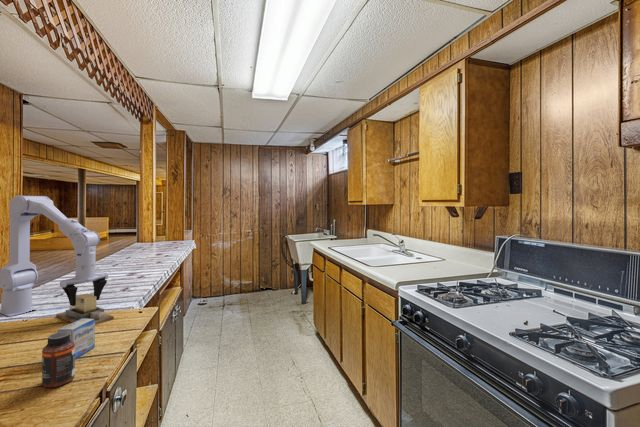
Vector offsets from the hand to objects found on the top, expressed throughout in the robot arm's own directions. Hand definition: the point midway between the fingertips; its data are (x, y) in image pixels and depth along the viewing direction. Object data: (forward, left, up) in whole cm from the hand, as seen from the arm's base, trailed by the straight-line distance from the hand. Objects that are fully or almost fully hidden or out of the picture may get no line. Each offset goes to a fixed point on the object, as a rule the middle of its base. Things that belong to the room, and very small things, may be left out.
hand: (85, 302), depth 110 cm
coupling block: (0, 0, -5) cm, 5 cm away
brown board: (0, 0, -6) cm, 6 cm away
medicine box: (+26, -15, -6) cm, 31 cm away
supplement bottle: (+37, -24, -6) cm, 45 cm away
